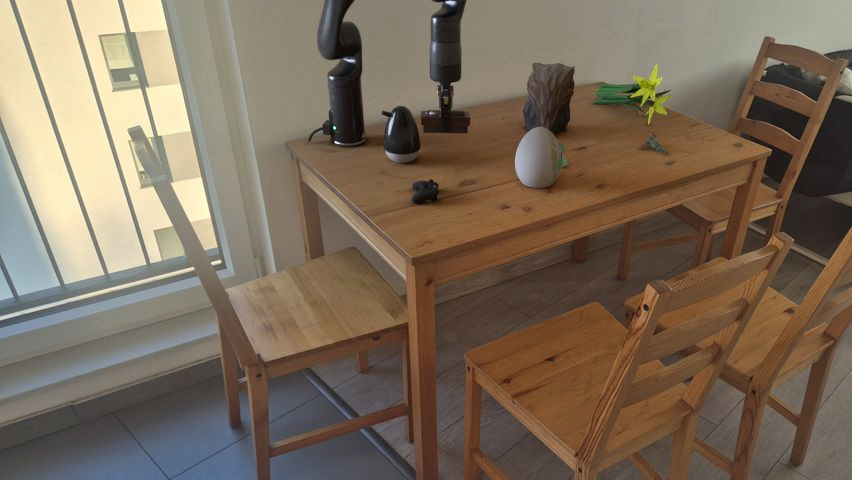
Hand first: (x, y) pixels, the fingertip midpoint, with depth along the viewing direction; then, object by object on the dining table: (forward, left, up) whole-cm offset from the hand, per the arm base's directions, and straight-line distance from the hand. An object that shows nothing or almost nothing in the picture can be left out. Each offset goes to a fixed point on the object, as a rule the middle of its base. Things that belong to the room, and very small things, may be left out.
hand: (445, 128), depth 169 cm
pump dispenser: (-14, +13, -15) cm, 25 cm away
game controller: (-4, -9, -15) cm, 18 cm away
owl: (+25, +43, -15) cm, 52 cm away
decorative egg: (+24, +4, -15) cm, 28 cm away
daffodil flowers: (+51, +65, -15) cm, 84 cm away
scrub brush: (0, 0, 0) cm, 0 cm away
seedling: (+29, +18, -15) cm, 37 cm away
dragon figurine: (+58, +33, -15) cm, 68 cm away
